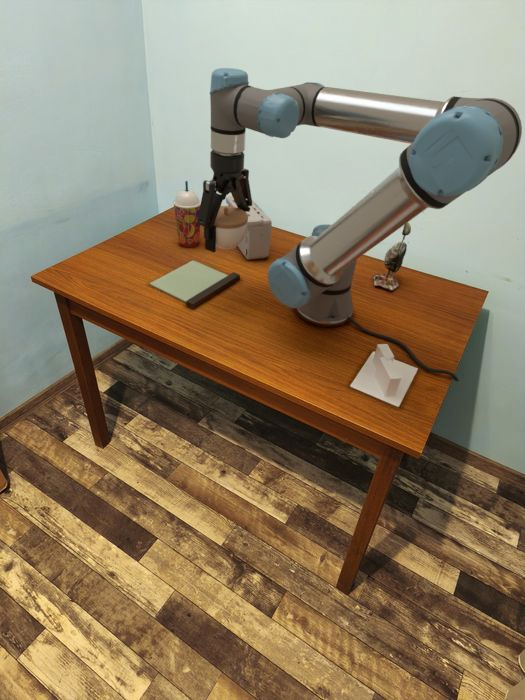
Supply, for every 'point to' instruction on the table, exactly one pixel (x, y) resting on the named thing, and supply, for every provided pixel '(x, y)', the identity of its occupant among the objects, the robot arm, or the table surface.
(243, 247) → the radio
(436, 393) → the table surface
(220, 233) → the trinket box
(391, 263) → the plant with pod
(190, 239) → the smoothie
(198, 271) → the mat
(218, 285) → the divider
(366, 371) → the napkin holder
